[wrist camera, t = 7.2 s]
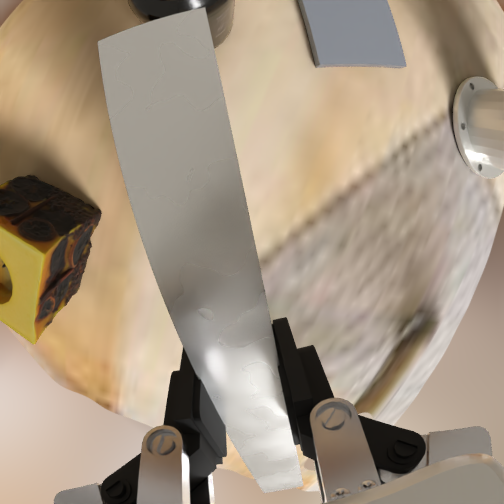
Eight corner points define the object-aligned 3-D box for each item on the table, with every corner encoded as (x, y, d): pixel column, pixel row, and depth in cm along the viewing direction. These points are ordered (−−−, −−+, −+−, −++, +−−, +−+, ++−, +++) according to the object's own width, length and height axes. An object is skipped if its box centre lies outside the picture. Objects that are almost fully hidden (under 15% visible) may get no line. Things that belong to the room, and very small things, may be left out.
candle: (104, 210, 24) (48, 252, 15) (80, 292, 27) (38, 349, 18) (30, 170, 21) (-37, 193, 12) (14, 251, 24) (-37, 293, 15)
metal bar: (212, 54, 8) (205, 7, 4) (292, 438, 17) (303, 485, 13) (142, 73, 8) (97, 41, 4) (257, 445, 17) (264, 492, 13)
